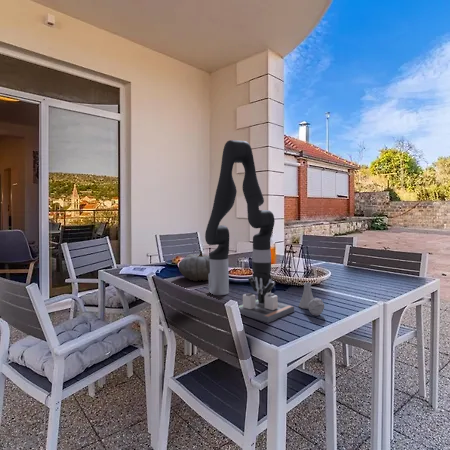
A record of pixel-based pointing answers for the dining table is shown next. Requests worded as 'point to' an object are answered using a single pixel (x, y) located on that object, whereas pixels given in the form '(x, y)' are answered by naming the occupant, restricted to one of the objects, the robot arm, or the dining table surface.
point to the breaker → (249, 301)
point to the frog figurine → (316, 306)
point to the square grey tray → (266, 312)
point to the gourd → (195, 267)
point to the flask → (306, 296)
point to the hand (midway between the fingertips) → (261, 302)
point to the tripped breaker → (271, 301)
